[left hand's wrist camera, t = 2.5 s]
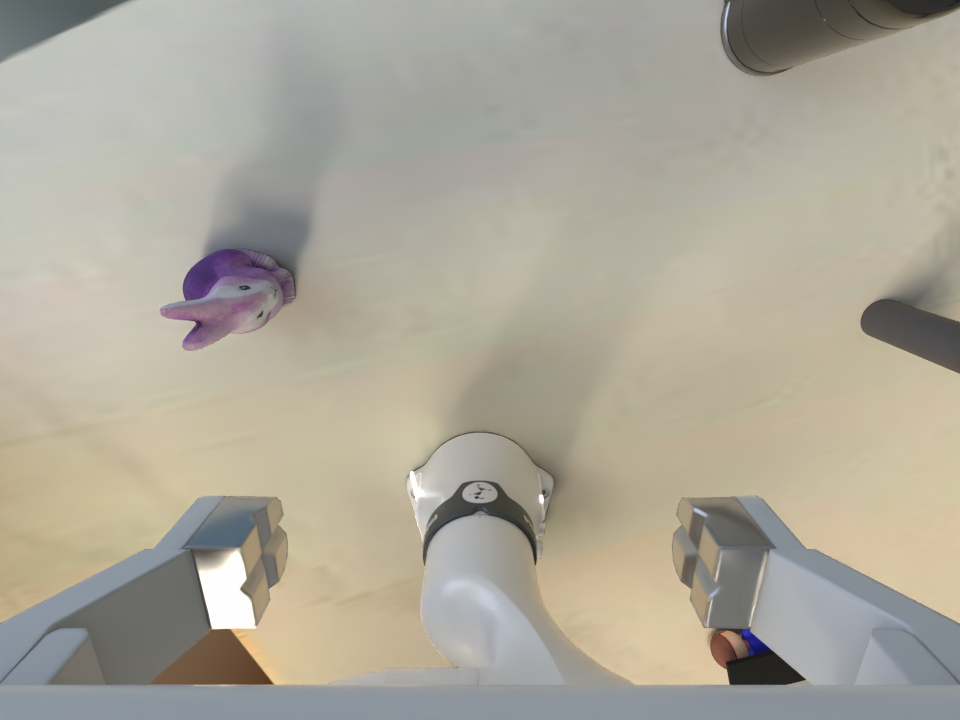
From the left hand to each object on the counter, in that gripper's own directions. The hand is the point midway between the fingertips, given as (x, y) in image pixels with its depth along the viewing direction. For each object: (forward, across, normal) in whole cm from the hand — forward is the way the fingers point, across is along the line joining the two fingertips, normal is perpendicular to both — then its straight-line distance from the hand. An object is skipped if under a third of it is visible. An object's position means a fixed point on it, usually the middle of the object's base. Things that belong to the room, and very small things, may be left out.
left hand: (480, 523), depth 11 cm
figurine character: (+48, +40, -55) cm, 84 cm away
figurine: (+48, -25, -5) cm, 54 cm away
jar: (+48, +46, -9) cm, 67 cm away
